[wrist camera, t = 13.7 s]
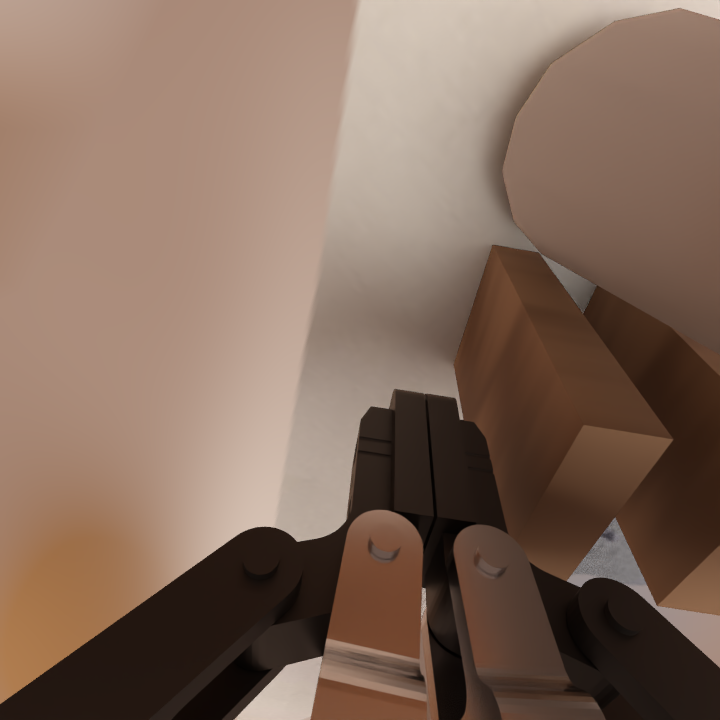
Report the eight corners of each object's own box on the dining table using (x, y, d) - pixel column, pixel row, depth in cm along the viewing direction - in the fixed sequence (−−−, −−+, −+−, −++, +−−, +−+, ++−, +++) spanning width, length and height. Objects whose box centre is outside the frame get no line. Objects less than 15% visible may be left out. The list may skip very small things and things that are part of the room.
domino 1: (492, 370, 18) (558, 590, 11) (453, 364, 18) (493, 580, 11) (539, 252, 15) (673, 439, 8) (492, 244, 15) (583, 424, 8)
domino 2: (589, 386, 18) (722, 616, 11) (551, 380, 18) (657, 605, 11) (653, 272, 15) (893, 475, 8) (607, 264, 15) (805, 461, 8)
